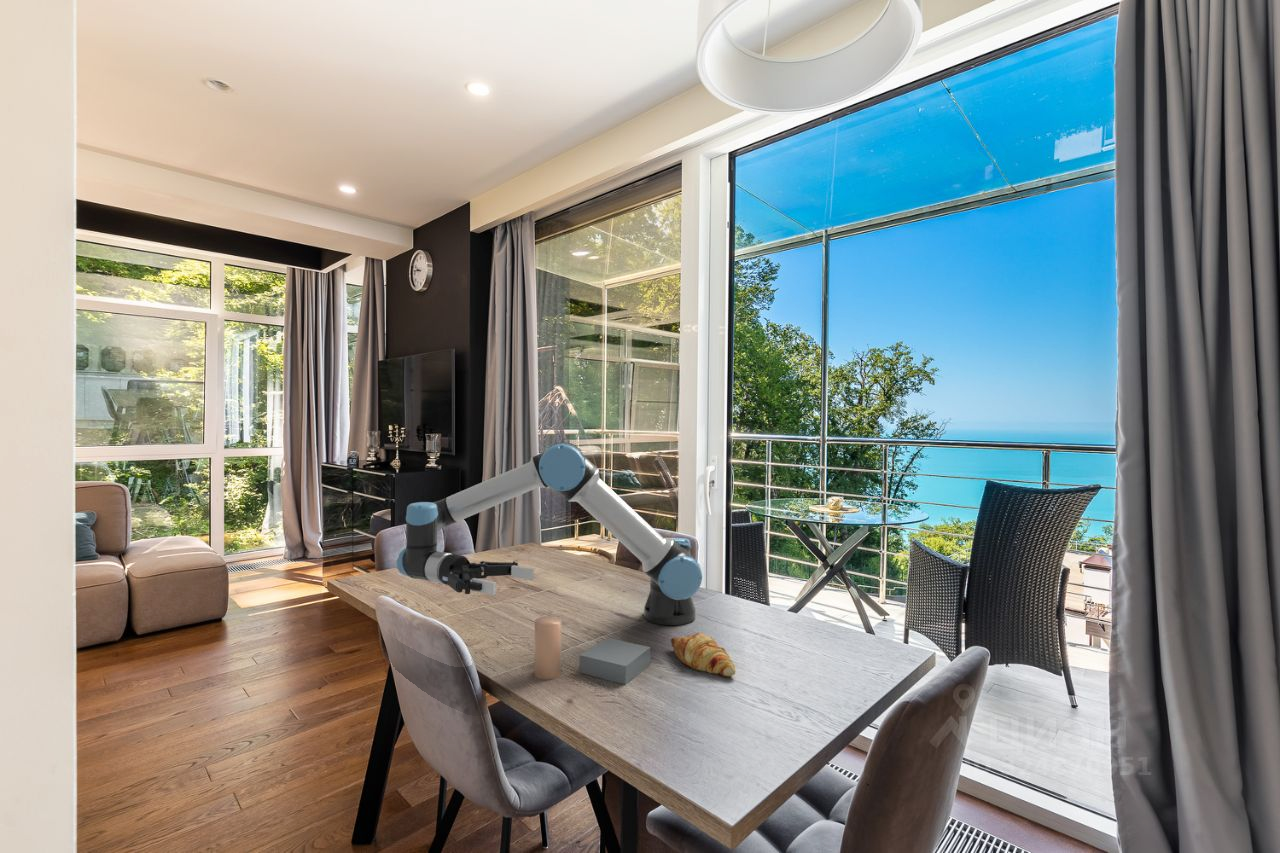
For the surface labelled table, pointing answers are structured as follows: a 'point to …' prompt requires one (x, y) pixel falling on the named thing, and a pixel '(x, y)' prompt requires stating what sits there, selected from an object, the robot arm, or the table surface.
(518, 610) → the table surface
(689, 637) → the croissant
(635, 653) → the pedestal
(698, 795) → the table surface
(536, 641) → the canister
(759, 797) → the table surface
